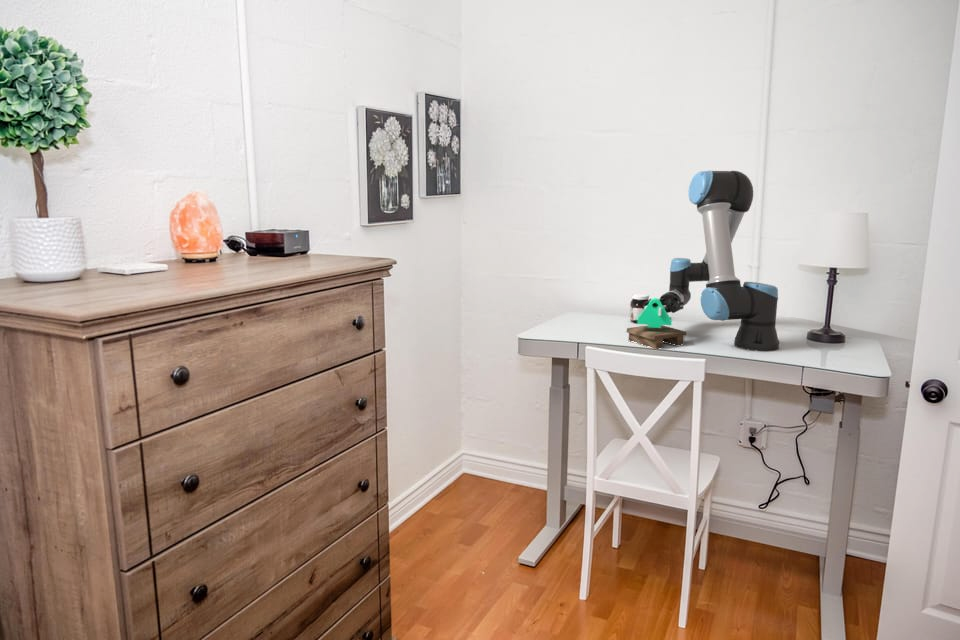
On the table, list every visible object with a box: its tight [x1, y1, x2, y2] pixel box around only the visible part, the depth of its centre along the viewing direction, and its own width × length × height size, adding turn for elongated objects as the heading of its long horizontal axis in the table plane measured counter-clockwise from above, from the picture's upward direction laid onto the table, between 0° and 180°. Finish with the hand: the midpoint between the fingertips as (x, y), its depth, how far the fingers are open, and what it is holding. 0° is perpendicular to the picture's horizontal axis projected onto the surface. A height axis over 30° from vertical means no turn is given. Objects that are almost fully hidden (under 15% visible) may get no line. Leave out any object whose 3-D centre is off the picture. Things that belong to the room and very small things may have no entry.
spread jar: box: [629, 293, 650, 324], centre depth 291 cm, size 12×11×12 cm
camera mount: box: [636, 297, 672, 328], centre depth 253 cm, size 12×8×10 cm, turn 76°
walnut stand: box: [626, 324, 687, 350], centre depth 255 cm, size 15×15×5 cm
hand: (652, 311), depth 249 cm, fingers closed on camera mount, 5 cm apart
